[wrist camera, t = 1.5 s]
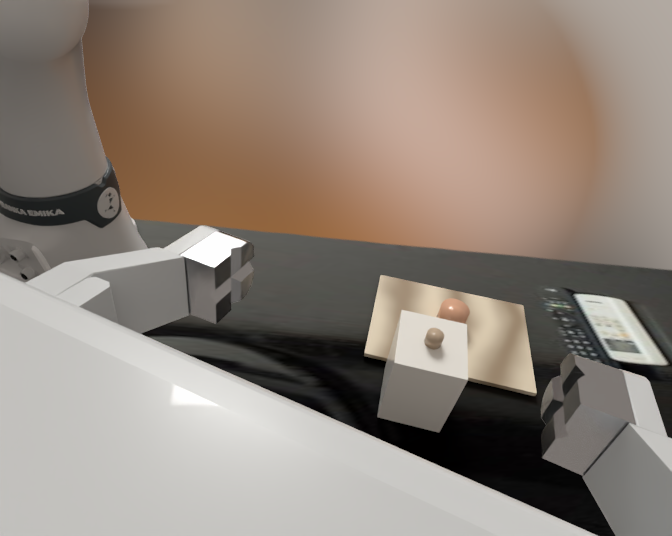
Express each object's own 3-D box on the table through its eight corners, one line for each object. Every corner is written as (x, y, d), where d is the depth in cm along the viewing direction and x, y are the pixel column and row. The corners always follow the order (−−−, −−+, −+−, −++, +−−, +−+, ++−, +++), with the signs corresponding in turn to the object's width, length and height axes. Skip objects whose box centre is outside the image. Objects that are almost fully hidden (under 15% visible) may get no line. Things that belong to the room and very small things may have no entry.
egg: (435, 329, 53) (440, 316, 51) (436, 308, 56) (441, 295, 54) (464, 335, 53) (470, 322, 51) (463, 314, 55) (469, 301, 54)
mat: (363, 356, 50) (364, 353, 49) (380, 277, 60) (380, 274, 60) (534, 396, 48) (536, 393, 47) (521, 308, 58) (523, 305, 58)
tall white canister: (377, 417, 44) (396, 354, 37) (385, 366, 49) (404, 301, 42) (439, 432, 44) (472, 372, 36) (441, 379, 48) (470, 316, 41)
